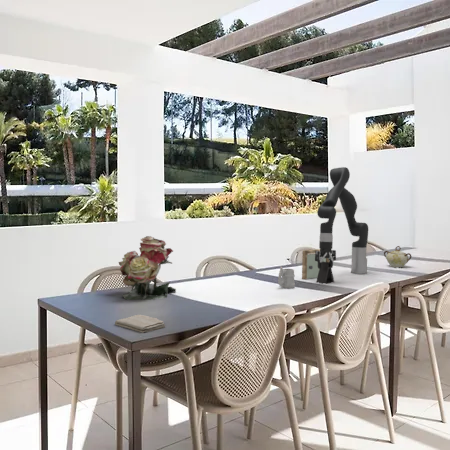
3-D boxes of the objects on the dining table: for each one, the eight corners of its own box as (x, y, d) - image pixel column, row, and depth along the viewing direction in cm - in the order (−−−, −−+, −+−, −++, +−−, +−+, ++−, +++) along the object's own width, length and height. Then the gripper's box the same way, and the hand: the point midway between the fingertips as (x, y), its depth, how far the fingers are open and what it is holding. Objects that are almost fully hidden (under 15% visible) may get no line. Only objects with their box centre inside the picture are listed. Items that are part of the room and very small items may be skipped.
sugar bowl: (414, 267, 356) (415, 246, 355) (407, 269, 345) (408, 248, 344) (387, 264, 369) (388, 244, 368) (379, 266, 357) (380, 245, 356)
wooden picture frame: (326, 276, 312) (327, 248, 311) (328, 276, 311) (329, 249, 309) (301, 278, 302) (302, 250, 301) (304, 279, 300) (304, 250, 299)
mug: (297, 287, 275) (298, 265, 274) (283, 289, 267) (284, 267, 266) (287, 285, 281) (287, 264, 280) (273, 287, 273) (273, 266, 272)
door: (323, 276, 311) (324, 253, 310) (326, 276, 308) (327, 253, 308) (305, 278, 303) (305, 254, 302) (308, 278, 301) (308, 254, 300)
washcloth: (144, 334, 183) (144, 326, 182) (113, 326, 194) (113, 318, 194) (167, 328, 192) (167, 320, 192) (136, 320, 203) (136, 312, 203)
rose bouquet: (122, 290, 263) (122, 233, 261) (177, 290, 262) (178, 234, 260) (110, 300, 237) (109, 237, 235) (171, 301, 236) (171, 238, 234)
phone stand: (324, 283, 287) (324, 263, 286) (316, 282, 291) (316, 261, 291) (334, 282, 292) (334, 261, 291) (326, 280, 297) (326, 260, 296)
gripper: (330, 239, 297) (329, 266, 298) (312, 240, 290) (311, 268, 291) (339, 240, 291) (338, 268, 292) (321, 241, 283) (320, 269, 284)
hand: (325, 268), depth 291 cm, fingers open, 8 cm apart
